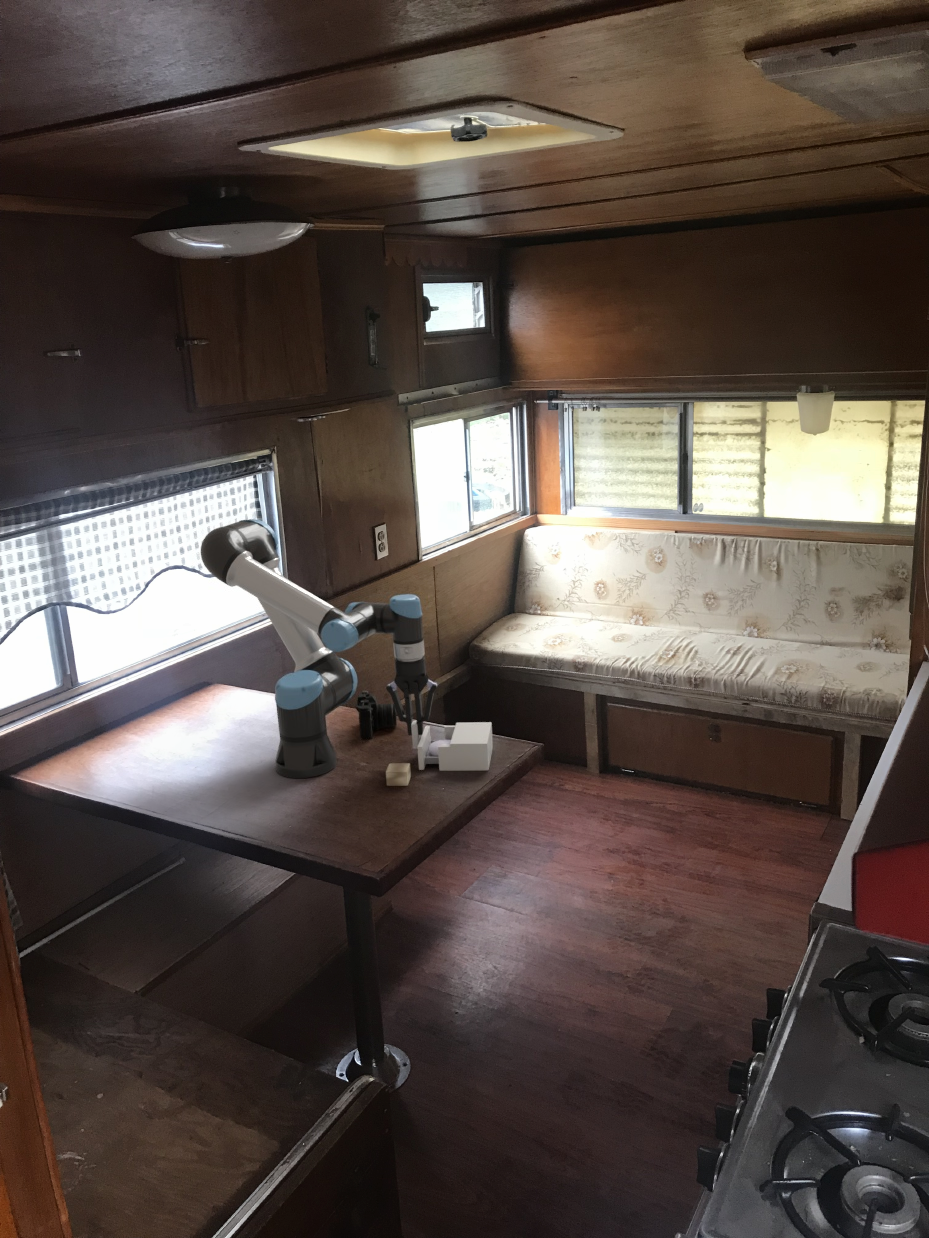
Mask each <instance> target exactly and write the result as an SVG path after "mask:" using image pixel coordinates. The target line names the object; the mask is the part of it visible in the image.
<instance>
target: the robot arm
mask: <svg viewBox="0 0 929 1238" xmlns="http://www.w3.org/2000/svg"><path fill="white" fill-rule="evenodd" d="M276 534H277V533H276V532H275V531H274V529H273V528H272V527H271V526H270V525H269V524H268V523H266V522H265V521H263V520H259V519H257V518H251V519H242V520H239V521H237V522H234V523H230V524H227V525H225V526H220V527H217V528H214V529H213V530H210V531H209V532H208V533H207V534H206V535H205V536H204V538H203V540H202V542H201V546H200V557H201V560H202V563H203V566H204V567H205V568H206V570H208V572H209V573H210V574H211V575H212V576H214V577H215V578H216V579H217V580H219V581H220V582H222V583H223V584H225V585H227V586H229V587H236V586H237V587H239V588H241V589H242V590H244V591H246V592H248V594H251V596H254V597H256V599H257V600H258V602H259V603H260V605H261V607H262V609H263V611H265V613H266V616H267V617H268V619H269V620H270V622H271V624H272V626H273V627H274V629H275V630H276V633H277V634H278V636H279V637H280V639H281V641H282V644H284V646H285V647H286V649H287V651H288V652H289V654H290V656H291V658H292V660H293V661H294V664H295V668H294V670H293V671H294V672H290V673H286V674H284V675H283V676H282V677H280V678H279V679H278V680H277V682H276V683H275V687H274V688H275V694H274V701H275V705H276V713H277V725H278V733H279V744H278V747H277V751H276V756H275V771H276V773H278V774H279V775H280V776H282V777H286V778H292V779H308V778H313V777H317V776H322V775H324V774H326V773H327V774H328V772H330V771H332V770H334V768H336V766H337V762H338V761H337V753H336V751H335V748H334V746H333V745H332V742H331V739H330V738H329V735H328V730H327V728H328V727H327V721H326V720H327V719H326V718H327V717H326V716H328V715H329V714H330V713H333V711H335V710H336V709H338V708H339V707H341V706H344V705H345V704H346V703H347V702H348V701H349V700H350V699H351V698H352V697H353V696H354V695H355V693H356V691H357V686H358V676H357V673H356V670H355V668H354V666H353V665H352V663H350V661H348V660H346V659H344V658H343V657H339V656H338V655H337V653H339V652H344V651H346V650H349V649H352V648H353V647H355V645H356V644H358V643H360V642H361V641H363V640H365V639H367V638H369V637H370V636H372V635H374V634H379V635H380V634H382V635H383V634H385V635H391V636H392V643H393V644H392V645H393V646H392V647H393V655H394V658H395V659H394V666H395V667H394V669H395V677H394V679H393V681H392V682H390V683H388V684H387V685H386V691H387V692H388V693H389V694H390V697H391V700H392V704H394V706H395V709H396V716H397V718H398V720H399V721H400V722H404V723H406V727H407V735H408V736H411V739H412V749H416V750H418V743H419V741H420V738H421V736H422V734H423V731H424V722H428V721H429V718H430V716H431V710H432V705H433V700H434V694H435V691H436V690H437V687H438V685H439V683H438V682H437V681H434V682H433V681H432V680H430V678H429V676H428V674H427V666H426V657H425V654H426V653H425V639H424V630H423V612H422V607H421V599H420V597H418V596H417V595H415V594H411V593H407V594H397V595H396V594H395V595H394V596H392V597H391V598H390V599H389V603H386V602H385V603H383V602H366V601H359V602H358V601H357V602H351V603H349V604H348V606H347V607H346V609H345V611H342V610H341V609H340V608H337V607H336V606H333V605H332V604H330V603H329V602H327V601H325V600H323V599H321V598H319V597H318V596H316V595H315V594H313V593H312V592H309V591H308V590H306V589H305V588H303V587H301V586H299V585H298V584H296V583H294V582H292V580H290V579H288V578H286V577H285V576H284V575H283V572H282V571H281V570H280V568H279V566H280V561H281V558H280V556H279V555H278V552H277V551H278V547H279V546H278V544H279V541H278V537H277V535H276ZM319 635H320V637H321V638H320V637H319ZM426 685H427V690H428V692H427V697H426V698H427V699H426V703H425V707H424V708H425V709H424V714H423V704H422V703H423V701H422V691H423V690H424V689H425V687H426ZM398 688H399V690H400V691H401V692H402V694H403V699H404V707H405V708H404V707H403V705H402V704H403V703H402V702H401V698H400V696H399V693H398V690H397V689H398ZM412 695H413V698H414V703H415V705H414V706H415V717H416V719H415V720H413V719H414V717H413V704H412Z"/></svg>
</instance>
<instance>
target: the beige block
mask: <svg viewBox="0 0 929 1238" xmlns="http://www.w3.org/2000/svg"><path fill="white" fill-rule="evenodd" d="M411 777H412V773H411V763H410V762H408V763H407V762H401V763H400V762H397V763H393V762H392V763H390V762H389V763H388V766H387V768H386V770H385V778H386V786H390V787H391V786H393V787H395V786H396V787H397V786H398V787H399V786H401V787H402V786H404V787H405V786H406V787H407V786H409V783H410V782H411V781H410V780H411Z"/></svg>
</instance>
